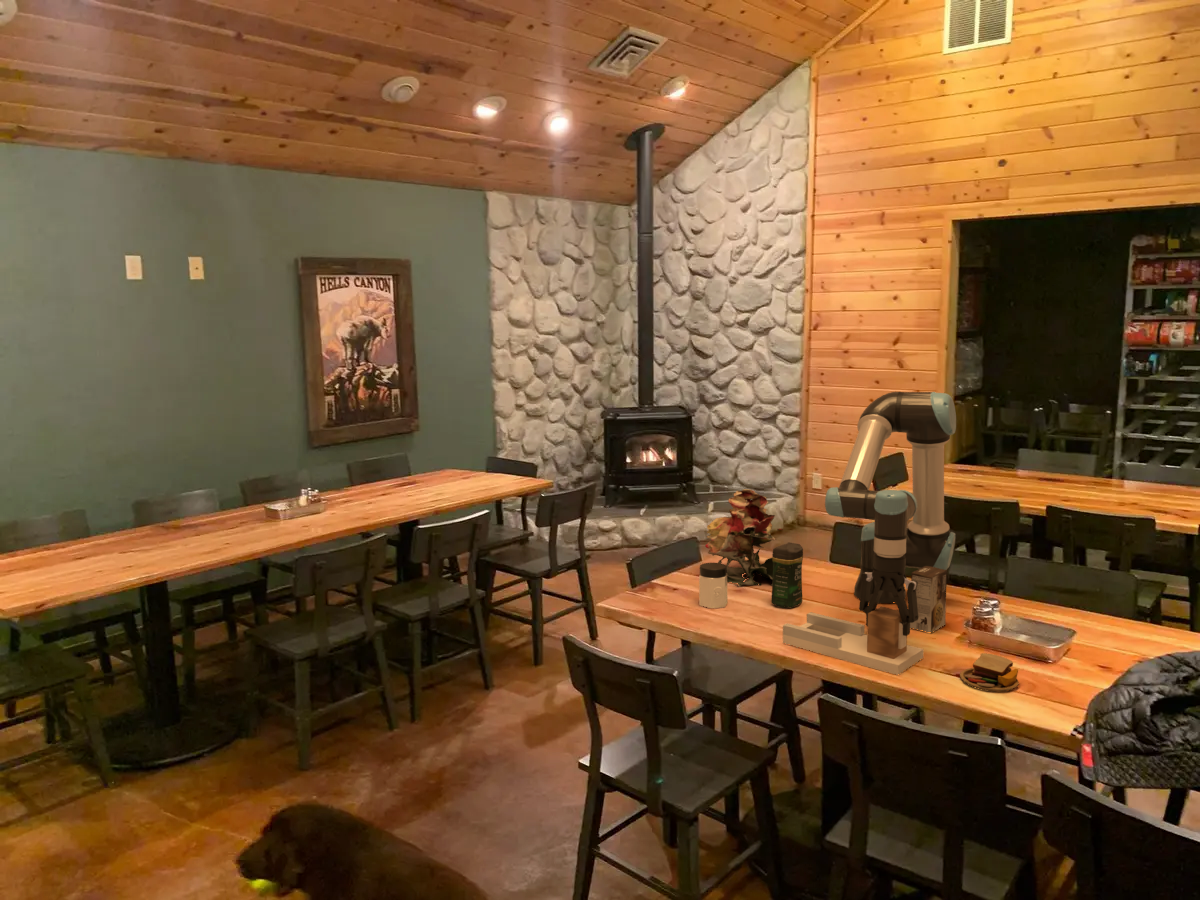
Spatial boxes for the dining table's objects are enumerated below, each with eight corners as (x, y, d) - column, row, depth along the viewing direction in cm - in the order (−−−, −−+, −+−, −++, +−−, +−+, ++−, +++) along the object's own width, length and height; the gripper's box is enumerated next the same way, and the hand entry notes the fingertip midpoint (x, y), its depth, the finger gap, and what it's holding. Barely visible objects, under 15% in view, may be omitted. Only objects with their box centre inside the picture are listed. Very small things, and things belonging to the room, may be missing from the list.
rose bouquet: (769, 563, 306) (770, 480, 302) (794, 588, 277) (795, 496, 273) (697, 566, 304) (697, 482, 300) (715, 591, 275) (715, 499, 271)
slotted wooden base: (923, 658, 217) (923, 639, 216) (898, 675, 207) (898, 655, 206) (810, 629, 239) (810, 612, 238) (782, 643, 229) (782, 625, 228)
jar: (703, 609, 257) (703, 570, 256) (694, 601, 265) (694, 563, 264) (732, 607, 259) (732, 568, 258) (722, 599, 267) (722, 561, 266)
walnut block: (906, 651, 215) (907, 612, 214) (893, 659, 210) (894, 619, 209) (880, 644, 220) (881, 606, 219) (867, 652, 215) (867, 613, 214)
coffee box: (923, 620, 244) (925, 565, 242) (946, 625, 240) (948, 569, 238) (908, 628, 238) (910, 572, 236) (931, 634, 234) (933, 576, 231)
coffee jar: (791, 610, 255) (791, 549, 252) (767, 605, 260) (767, 545, 257) (806, 602, 262) (807, 543, 260) (783, 597, 267) (783, 539, 265)
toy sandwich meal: (949, 681, 203) (949, 662, 203) (979, 667, 212) (980, 648, 211) (1001, 699, 194) (1002, 678, 193) (1030, 683, 202) (1031, 663, 201)
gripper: (936, 557, 208) (933, 649, 211) (859, 544, 222) (857, 630, 225) (922, 564, 202) (919, 657, 206) (845, 550, 216) (843, 638, 219)
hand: (887, 643), depth 215 cm, fingers closed on walnut block, 7 cm apart
